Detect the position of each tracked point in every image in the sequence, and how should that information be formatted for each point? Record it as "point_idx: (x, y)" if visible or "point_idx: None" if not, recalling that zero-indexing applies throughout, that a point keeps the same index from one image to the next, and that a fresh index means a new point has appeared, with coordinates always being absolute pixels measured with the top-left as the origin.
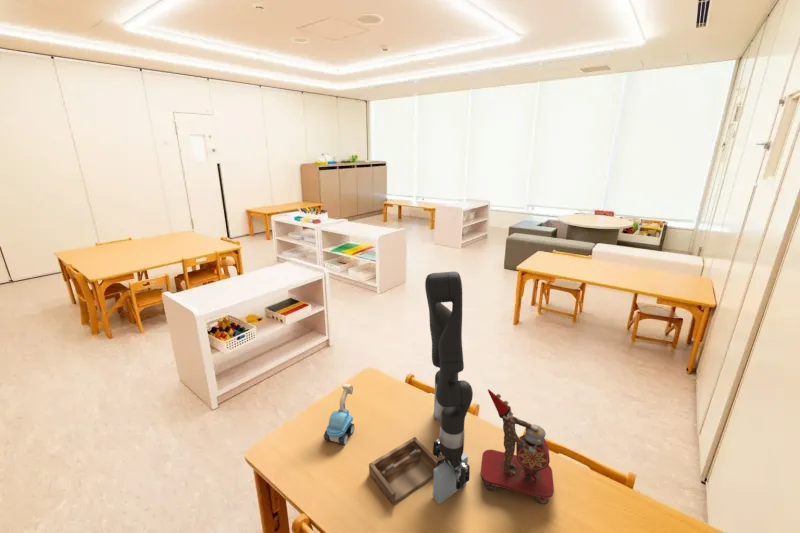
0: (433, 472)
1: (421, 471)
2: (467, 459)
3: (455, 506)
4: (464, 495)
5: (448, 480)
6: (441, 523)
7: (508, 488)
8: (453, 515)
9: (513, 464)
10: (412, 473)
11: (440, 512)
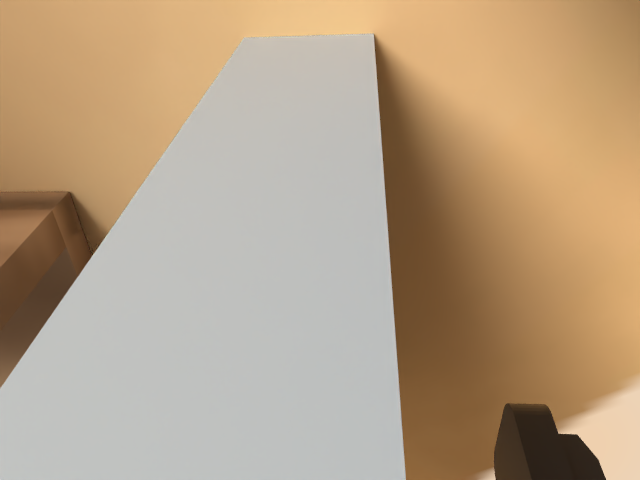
0: (58, 279)
1: (8, 352)
2: (402, 465)
3: (487, 309)
4: (474, 165)
5: None
6: None
7: None
8: (529, 366)
9: None
10: None
11: (431, 413)
